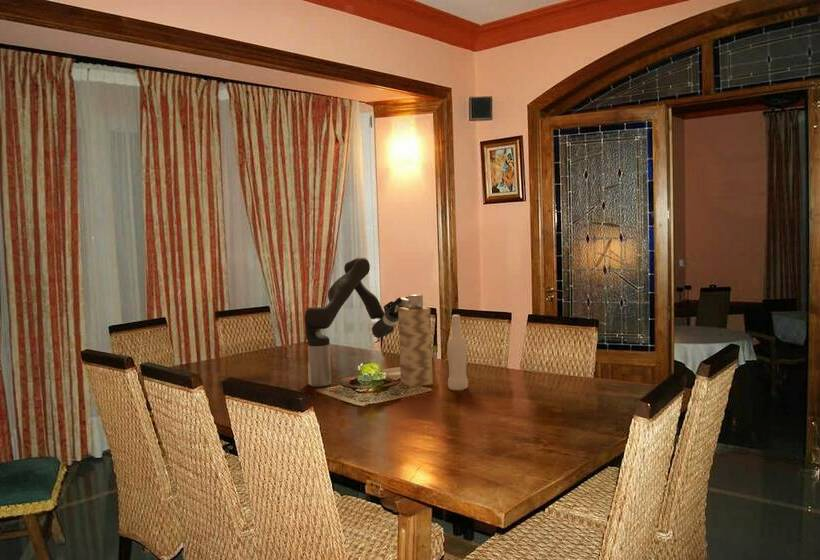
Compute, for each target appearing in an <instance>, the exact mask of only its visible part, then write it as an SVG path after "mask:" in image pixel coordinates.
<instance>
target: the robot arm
mask: <svg viewBox="0 0 820 560" xmlns="http://www.w3.org/2000/svg"><path fill="white" fill-rule="evenodd" d="M370 268H371V266H370V262H369V260H368V259H367V258H365V257H361V256H359V257H356V258H355V259H352V260H350V261H347V262H346V263H345V264H344V268H343V269H344V274H343V275H342V276H341V277H339V278H338V279H336V281H334V282H333V284H332V285H331V286H330V287H329V289H328V291H327V298H328V301H329V302H328V304H327V305H326V306H323V307H320V306H311V307H308V308H307V309H306V311H305V312H304V326H305V328H304V329H305V337H306V342H307V352H308V362H307V378H308V379H307V380H308V381H307V383H308V385H309V386H311V387H326V386H329V385H331V384H332V371H331V369H332V368H331V350H330V349H331V348H330V343H331V341H330V337H328V336H326V335H325V334H323V333H322V332H321V331H320V330H327V329H328V328H330V327H331V326H332V324H333V322H334V321H335V318H336V317H337V316H338V313H339V312H340V310H341V309H342V307H343V305H344V304H345V303H346V302H347V300H348V299H349V297H350V296H351V295H352V293H353V292H354V290H355V292H356V293H357V294H358V297H359V298H360V300H361V301H362V303H363V305H364V307H365V310H366V311H367V314H368V316H369V318H370V319H371V320H377V319H378V320H377V321H376V322H375V323H374V324H373V326H372V328H371V333H372V334H373V337H375V338H376V339H382V338H384V337H385V336H388V335H390V334H391V333H393V332H394V330H395V325H397V323H399V315H398V308H400V307H404V306H400V305H399V304H400V303H401V298H402V297H401V296H400V297H399V296H398V297H397V298H396V299H395V300H394V301H393V300H391V301H389V302H387V303H386V304H385V305H383V308H382V306H381V304H380V301H379V299H378V298H377V296H376V295H375V294H373V293H372V292H371V291H370V290H369V289H368V288H366V286H365V285H364V284H363V283H362V280H363V279H364V278H365V277H367V275H368V274H369V272H370V270H371V269H370ZM405 298H407V299H408V296H406V297H405Z"/></svg>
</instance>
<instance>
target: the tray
mask: <svg viewBox="0 0 820 560" xmlns="http://www.w3.org/2000/svg"><path fill="white" fill-rule="evenodd" d="M380 370H382V371H384V372H386V373H387V374H388V375H387V377H392V378H401V372H400V366H399V367H398V366H397V367H391V368H384V369H383V368H382V369H380Z"/></svg>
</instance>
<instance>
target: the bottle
mask: <svg viewBox="0 0 820 560" xmlns="http://www.w3.org/2000/svg"><path fill="white" fill-rule="evenodd" d="M461 321H462V320H461V315H460V314H453V315H451V337H450V338H449V339H448V340H447V345H446V348H447V349H446V351H447V360H448V374H449V375H448V379H447V386H448V389H449V390H451V391H465V390H466V388H467V389H468V386H469V379H468V377H467V350H468V349H467V347H468V346H467V341H466V340H465V338H464V336H462V327H461V323H462V322H461ZM464 389H465V390H464Z"/></svg>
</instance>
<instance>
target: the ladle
mask: <svg viewBox="0 0 820 560" xmlns="http://www.w3.org/2000/svg"><path fill="white" fill-rule="evenodd" d="M407 297H408V299H407V298H406V297H401V303H400V304H399V305H400V306H404V307H408V308H409V309H423V307H424V302H423V301H424V296H423V294H409V295H407Z"/></svg>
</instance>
